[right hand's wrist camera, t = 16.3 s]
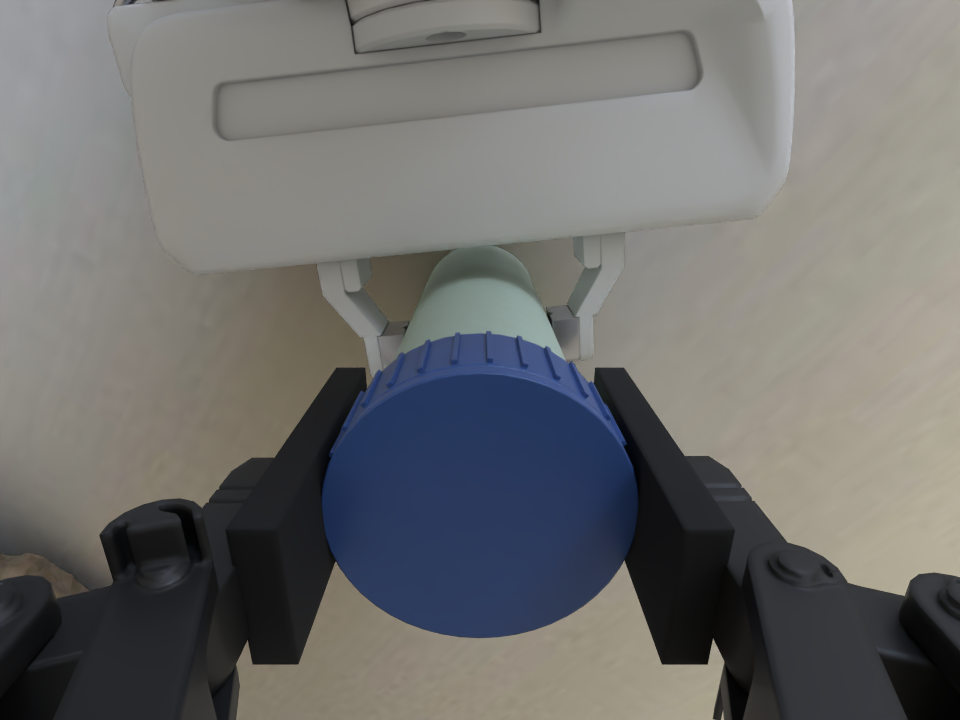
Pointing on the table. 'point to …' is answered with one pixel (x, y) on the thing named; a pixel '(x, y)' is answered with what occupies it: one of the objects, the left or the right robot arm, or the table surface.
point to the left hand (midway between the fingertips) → (483, 364)
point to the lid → (479, 488)
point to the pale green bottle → (479, 301)
